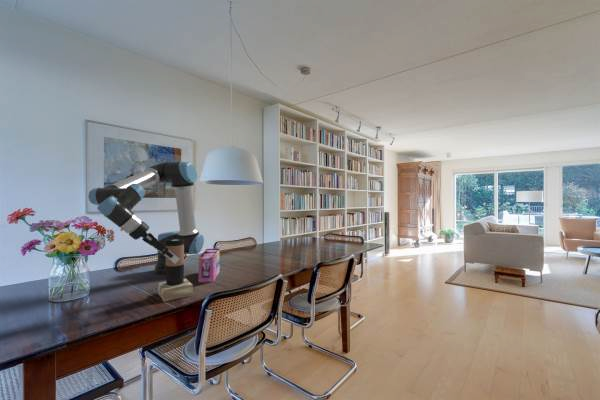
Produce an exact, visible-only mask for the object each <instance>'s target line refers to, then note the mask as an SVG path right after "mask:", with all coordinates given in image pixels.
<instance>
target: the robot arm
mask: <svg viewBox="0 0 600 400" xmlns="http://www.w3.org/2000/svg"><path fill="white" fill-rule="evenodd" d="M197 178H198V172H197V169H196V167H195V166H194V164H193V163H191V162H189V161H165V162H160V163H156V164H155V165H154V164H153V165H152V166H148V167H147V168H145V169H144V170H143V171H142V172H140V173H136V174H135V175H132V176H129V177H127V178H124V179H122V180H120V181H117V182H114V183H112V184H110V185H107V186H104V187H95V188H92V189H91V190H89V192H88V194H87V195H88V196H87V197H88V201H89V203H90V204H92V205H95V206H97V207H96V208H97V211H99V212H100V214H102V215H103V216H104V217H105V218H107V219H108V220H109V221H111V222H112V223H113V224H114V225H116V226H117V227H118V228H120V231H121V232H124V233H126V234H128V236H129V237H131V238H132V239H134V240H135V241H136V240H138V239H140V238H142V241H143V242H144V243H146V244H148V245H149V246H150V247H153V248H154V249H156V251H157V260H156V262H155V265H154V269H153V271H154V273H155V274H160V275H164V274H165V275H166V257H167V258H168V259H170V260H171V261H172V262H173V263H175V264H176V263H177V262H178V261H179V260H180V259H179V258H178V257H177V256H176V255H175V254H173V253H172V252H171V251H170V250H169V249H168V248H166V240H167V239H172V238H176V239H181V238H183V239H184V255H197V254H199V253H200V252H201V251H202V249H203V247H204V243H205V239H204V235H203V234H201V233H200V230H199V229H198V228H196V221H195V220H196V219H195V211H194V209H195V208H194V201H193V193H192V192H193V191H192V188H193V187H194V186H195V185H194V183H195V182H196V181H197ZM167 183H168V184H170V185H171V188H172V189H174V193H175V200H176V208H177V209H176V210H177V217H178V226H179V230H176V231H175V230H174V231H169V232H161V233H159V234H158V236H157V238H156V237H155V236H154V235H153V234H152V233H150V232H148V230H149V229H150V225H148V224H147V223H146V222H145V221H142V219H141V217H139V216H138V215H136V214H135V213H134V212H133V211H132V210H133V208H134V207H135V206H137V205H138V203H140V202H141V201H142V199H143V198H144V197H145V195H146V190H145V188H146V187H149V186H156V185H158V184H167Z"/></svg>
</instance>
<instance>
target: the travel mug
mask: <svg viewBox="0 0 600 400" xmlns="http://www.w3.org/2000/svg"><path fill="white" fill-rule="evenodd" d="M166 248H168V249H169V250H170V251H171V252H172V253H173V254H175V255H176V256H177V257H178V258H179V259H180V260H179V261H178V262H177V263H176V264H175V263H173V262H172V261H171V260H170V259H168V258H167V257H166V274H165V282H166V284H167V285H169V286H175V285H180V284H182V283H183V282H184V278H185V254H184V239H183V238H181V239H176V238H172V239H167V240H166Z"/></svg>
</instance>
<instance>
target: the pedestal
mask: <svg viewBox="0 0 600 400" xmlns="http://www.w3.org/2000/svg"><path fill="white" fill-rule="evenodd" d="M193 288H194V285H193V283H191V282H190V281H189V280H188V279H187V278H185V277H184V282H183V283H182V284H180V285H175V286H169V285H167V284H166V281H161V282H160V281H159V282H158V283H157V295H158V296H159V297H160V299H161V300H162V302H168V301H169V302H170V301H172V300H173V301H174V300H179V299H183V298H187V297H188V298H189V297H192V296H194V289H193Z"/></svg>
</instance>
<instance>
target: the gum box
mask: <svg viewBox="0 0 600 400" xmlns="http://www.w3.org/2000/svg"><path fill="white" fill-rule="evenodd" d="M220 253H221V251H220V248H206V249H205V250H204V251H203V252H202V253H201V254H200V255H199V257H198V275H197V276H198V283H214V281H215V280H216V278H217V276H218V275H219V274H220V271H221V261H220V260H221V259H220V255H221V254H220Z"/></svg>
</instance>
